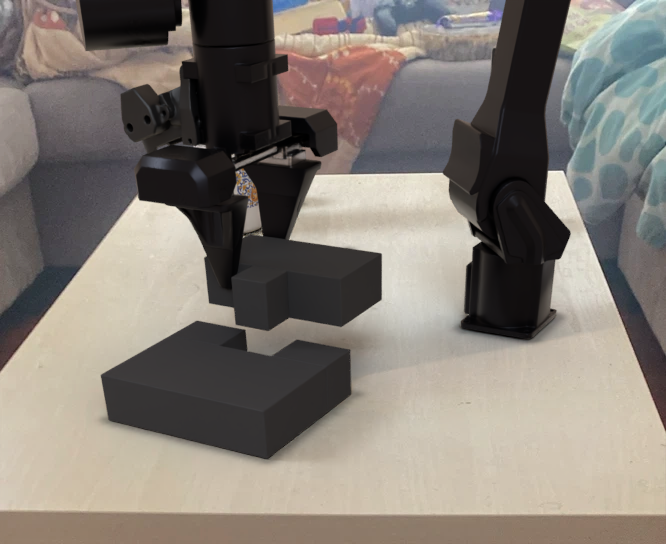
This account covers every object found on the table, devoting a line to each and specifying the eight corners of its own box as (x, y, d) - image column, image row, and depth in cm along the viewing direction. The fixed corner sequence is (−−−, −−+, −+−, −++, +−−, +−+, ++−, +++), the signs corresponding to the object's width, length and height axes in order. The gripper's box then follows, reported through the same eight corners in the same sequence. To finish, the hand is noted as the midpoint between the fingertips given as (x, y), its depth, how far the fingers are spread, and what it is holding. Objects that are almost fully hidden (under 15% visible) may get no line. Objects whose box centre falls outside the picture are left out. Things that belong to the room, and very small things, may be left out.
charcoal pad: (351, 394, 79) (350, 349, 77) (267, 459, 71) (263, 411, 69) (201, 363, 85) (196, 319, 82) (108, 420, 77) (99, 374, 75)
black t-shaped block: (382, 300, 81) (382, 253, 79) (321, 341, 75) (319, 291, 73) (253, 278, 86) (250, 233, 83) (186, 316, 80) (180, 268, 77)
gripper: (214, 17, 81) (232, 230, 91) (54, 56, 69) (96, 297, 79) (338, 23, 76) (343, 246, 87) (191, 66, 64) (216, 319, 75)
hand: (251, 274), depth 82 cm, fingers closed on black t-shaped block, 6 cm apart
